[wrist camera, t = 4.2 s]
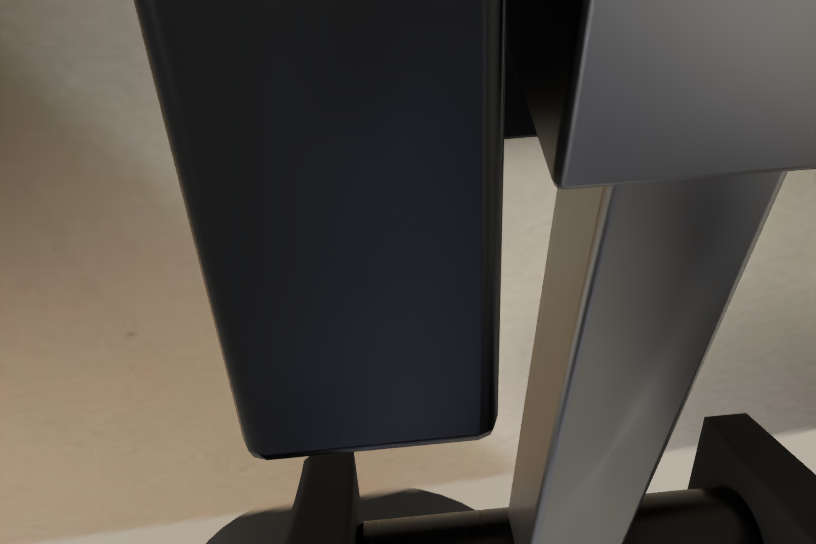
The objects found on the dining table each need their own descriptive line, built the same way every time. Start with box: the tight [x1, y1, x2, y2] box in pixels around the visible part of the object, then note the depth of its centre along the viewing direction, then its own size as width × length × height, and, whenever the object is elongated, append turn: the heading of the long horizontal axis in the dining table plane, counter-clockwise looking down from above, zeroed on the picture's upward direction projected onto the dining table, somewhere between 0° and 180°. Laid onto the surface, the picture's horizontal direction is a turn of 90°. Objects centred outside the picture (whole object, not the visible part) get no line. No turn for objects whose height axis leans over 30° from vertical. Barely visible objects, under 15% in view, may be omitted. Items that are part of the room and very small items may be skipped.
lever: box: [357, 0, 816, 544], centre depth 6 cm, size 11×5×2 cm, turn 3°
